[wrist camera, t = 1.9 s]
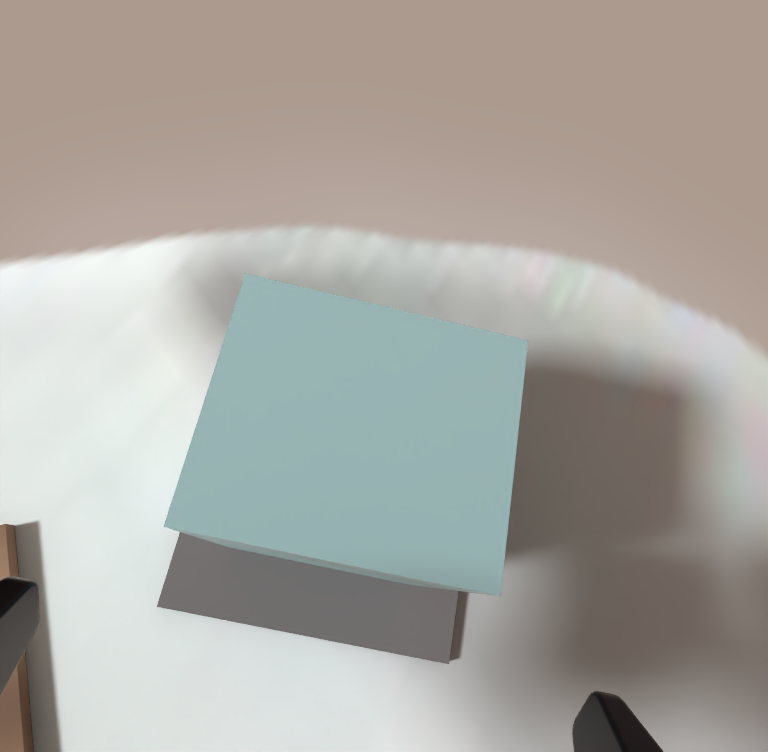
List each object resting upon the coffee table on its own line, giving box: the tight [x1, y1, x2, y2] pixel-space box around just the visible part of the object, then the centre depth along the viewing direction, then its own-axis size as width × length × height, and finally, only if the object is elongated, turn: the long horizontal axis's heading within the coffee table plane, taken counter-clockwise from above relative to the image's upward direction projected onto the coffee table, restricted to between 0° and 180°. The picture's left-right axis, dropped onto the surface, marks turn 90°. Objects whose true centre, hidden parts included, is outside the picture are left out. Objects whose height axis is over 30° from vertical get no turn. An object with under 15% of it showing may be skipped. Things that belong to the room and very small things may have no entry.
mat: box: [157, 532, 459, 664], centre depth 21 cm, size 10×10×1 cm
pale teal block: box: [164, 273, 528, 596], centre depth 16 cm, size 6×6×10 cm
